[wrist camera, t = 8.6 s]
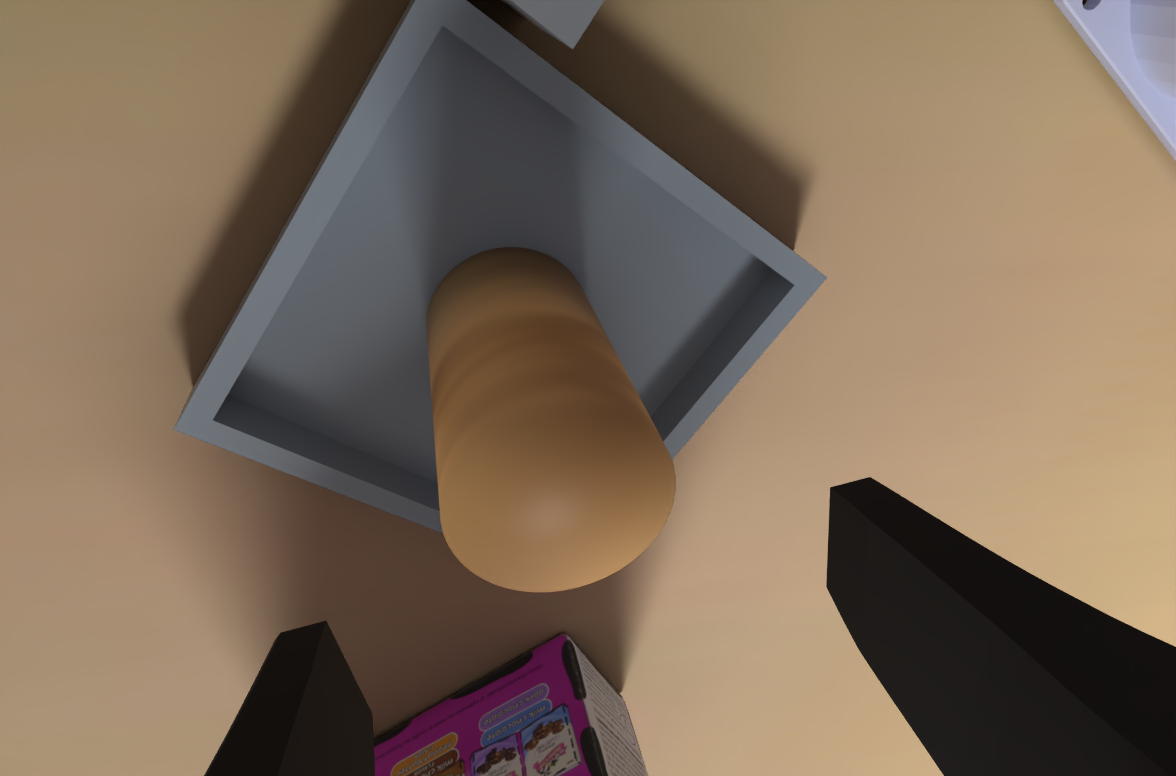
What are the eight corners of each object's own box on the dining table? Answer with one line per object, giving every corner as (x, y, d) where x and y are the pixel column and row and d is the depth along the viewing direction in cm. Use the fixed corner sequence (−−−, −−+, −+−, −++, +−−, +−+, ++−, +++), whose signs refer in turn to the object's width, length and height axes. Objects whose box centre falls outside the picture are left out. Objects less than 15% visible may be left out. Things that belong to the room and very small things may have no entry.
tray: (794, 252, 20) (827, 277, 18) (556, 539, 23) (567, 582, 22) (427, -31, 15) (430, -27, 13) (192, 388, 18) (173, 429, 17)
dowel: (620, 301, 19) (721, 465, 13) (528, 418, 20) (583, 618, 14) (486, 214, 17) (533, 360, 11) (394, 349, 18) (392, 545, 12)
